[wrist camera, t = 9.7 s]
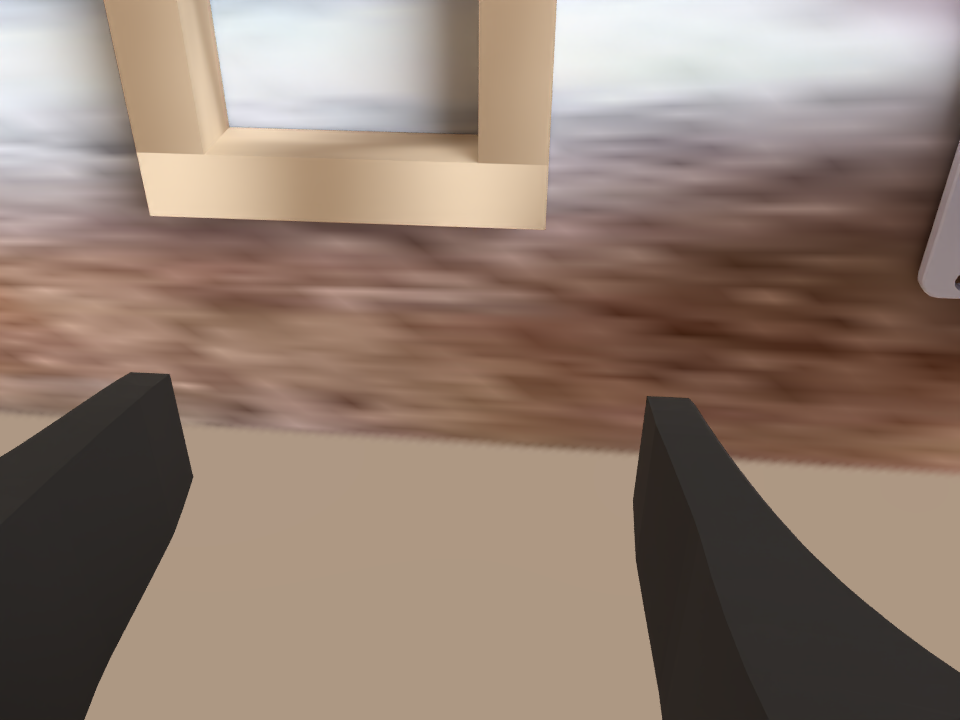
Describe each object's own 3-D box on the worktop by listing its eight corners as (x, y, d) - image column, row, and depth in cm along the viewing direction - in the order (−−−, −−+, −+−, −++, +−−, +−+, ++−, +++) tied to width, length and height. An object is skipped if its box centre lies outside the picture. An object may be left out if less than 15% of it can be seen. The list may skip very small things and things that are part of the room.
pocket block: (568, -262, 16) (569, -267, 15) (546, 197, 21) (545, 229, 20) (91, -265, 17) (45, -269, 15) (178, 185, 22) (150, 215, 20)
